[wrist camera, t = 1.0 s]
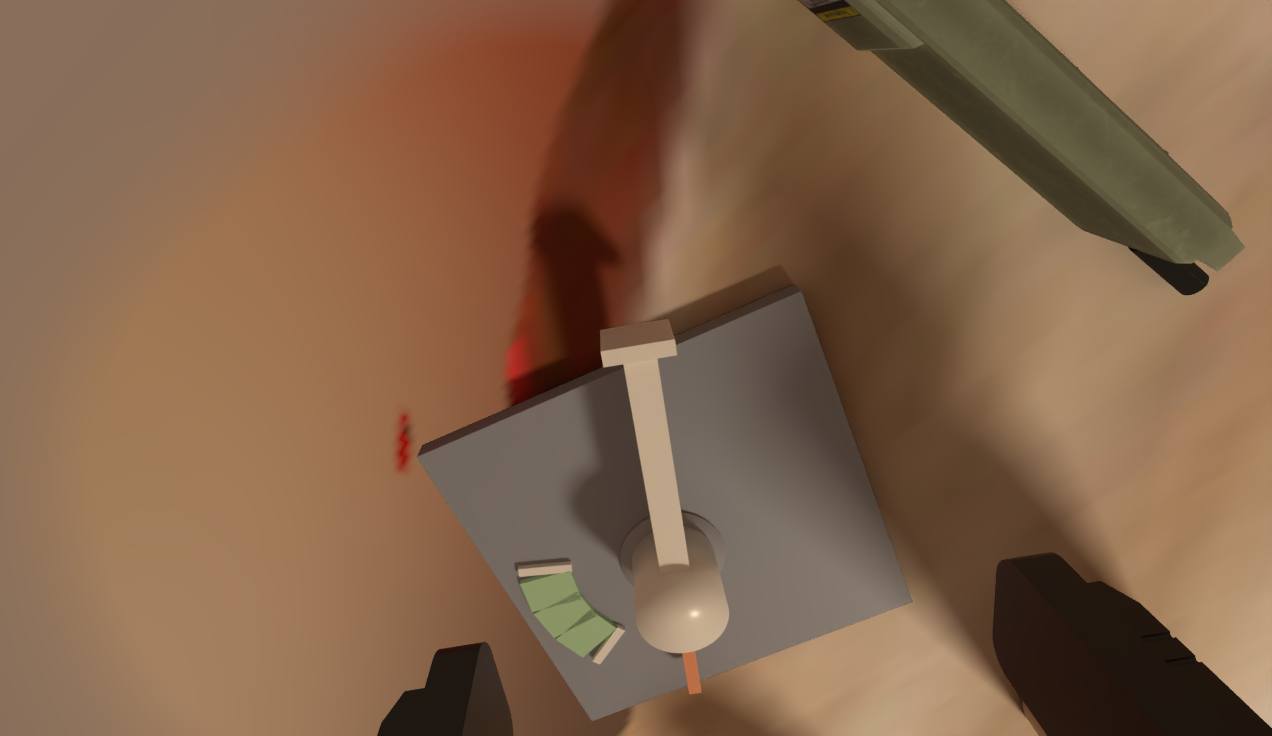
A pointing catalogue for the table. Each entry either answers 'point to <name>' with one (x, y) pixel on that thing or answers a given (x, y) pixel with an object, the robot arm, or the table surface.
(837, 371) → the table surface
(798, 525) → the gauge board
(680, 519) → the lever with orange pointer
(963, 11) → the handheld radio
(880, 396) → the table surface
